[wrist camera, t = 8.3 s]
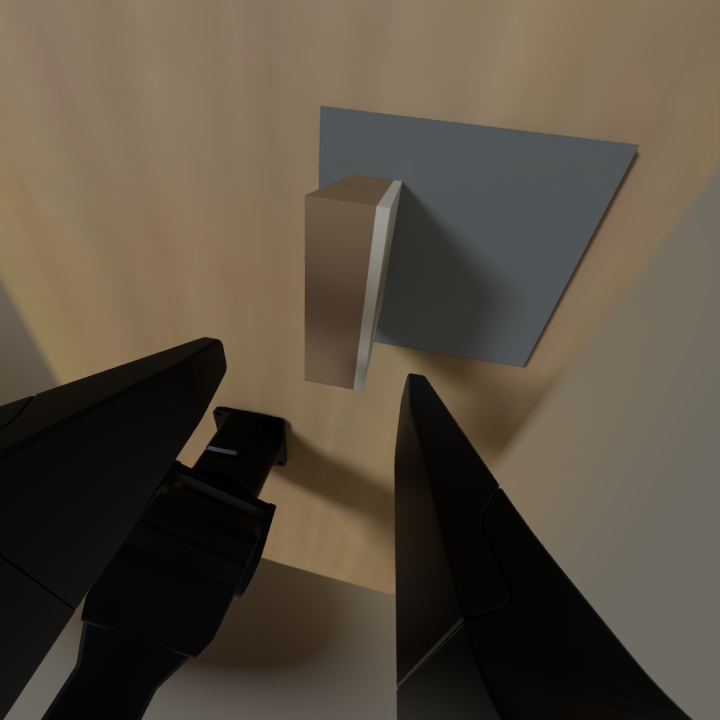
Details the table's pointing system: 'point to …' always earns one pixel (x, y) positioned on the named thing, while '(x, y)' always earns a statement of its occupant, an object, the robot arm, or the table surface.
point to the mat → (475, 224)
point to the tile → (346, 275)
